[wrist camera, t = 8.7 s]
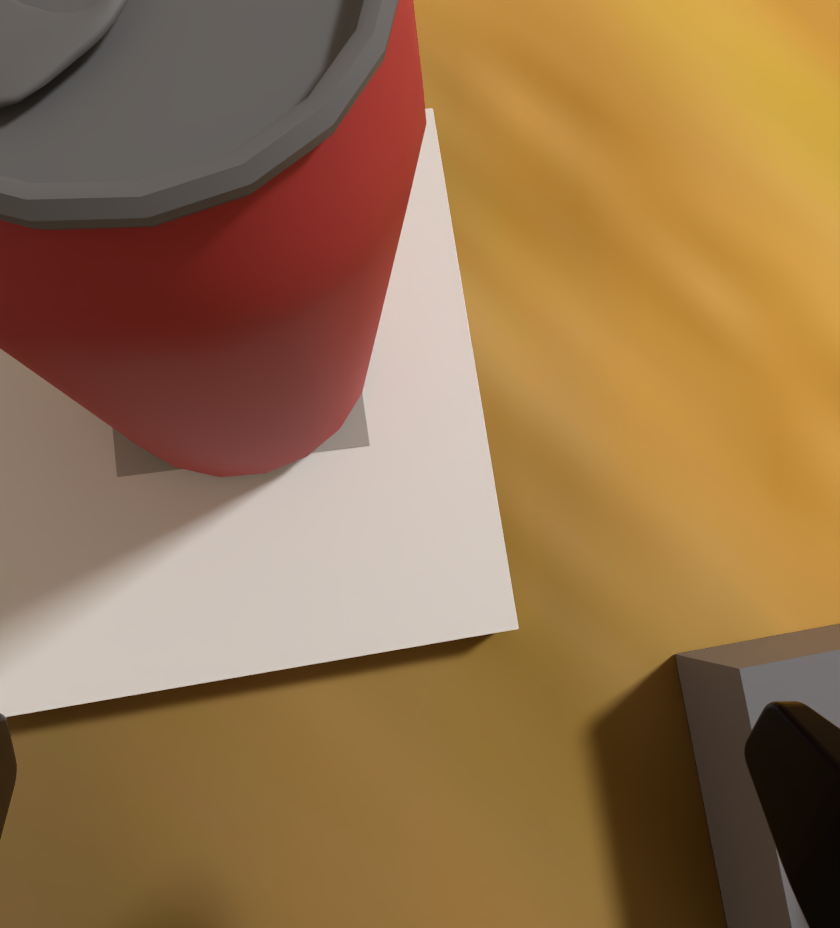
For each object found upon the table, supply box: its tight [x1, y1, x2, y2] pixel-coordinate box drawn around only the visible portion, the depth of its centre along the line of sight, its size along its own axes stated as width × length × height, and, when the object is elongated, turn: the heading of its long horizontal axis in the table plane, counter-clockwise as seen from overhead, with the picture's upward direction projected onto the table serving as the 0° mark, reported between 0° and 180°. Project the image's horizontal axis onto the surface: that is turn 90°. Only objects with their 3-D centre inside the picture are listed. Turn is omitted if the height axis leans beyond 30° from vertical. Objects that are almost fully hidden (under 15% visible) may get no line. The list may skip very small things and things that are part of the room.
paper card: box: [0, 108, 519, 717], centre depth 18 cm, size 14×12×1 cm
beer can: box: [0, 0, 427, 477], centre depth 12 cm, size 7×7×12 cm
